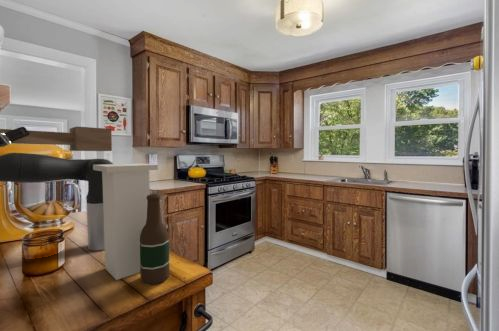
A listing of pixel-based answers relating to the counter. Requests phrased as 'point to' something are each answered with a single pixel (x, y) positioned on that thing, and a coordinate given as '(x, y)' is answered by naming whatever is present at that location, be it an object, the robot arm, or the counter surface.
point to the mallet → (71, 138)
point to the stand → (124, 214)
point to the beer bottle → (154, 245)
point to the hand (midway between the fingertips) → (25, 131)
